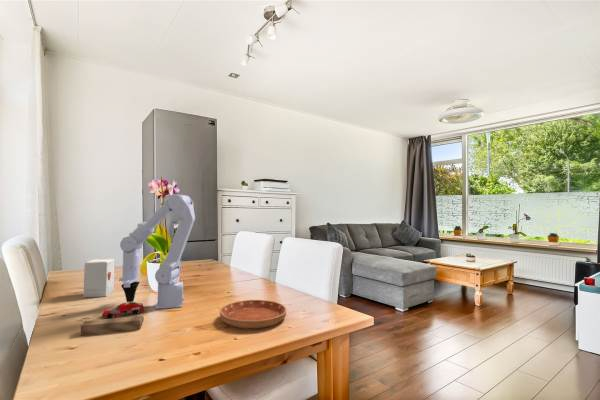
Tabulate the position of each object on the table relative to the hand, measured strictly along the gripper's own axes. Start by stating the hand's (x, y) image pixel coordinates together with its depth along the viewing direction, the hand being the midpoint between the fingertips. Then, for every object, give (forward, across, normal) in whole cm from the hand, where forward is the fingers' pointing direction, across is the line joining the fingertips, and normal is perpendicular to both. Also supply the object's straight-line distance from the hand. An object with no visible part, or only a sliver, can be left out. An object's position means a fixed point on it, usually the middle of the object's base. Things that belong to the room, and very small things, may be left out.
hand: (130, 301), depth 121 cm
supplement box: (+2, -20, -16) cm, 26 cm away
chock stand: (+1, +24, 0) cm, 24 cm away
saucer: (+2, +28, +44) cm, 52 cm away
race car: (+2, +10, 0) cm, 11 cm away
